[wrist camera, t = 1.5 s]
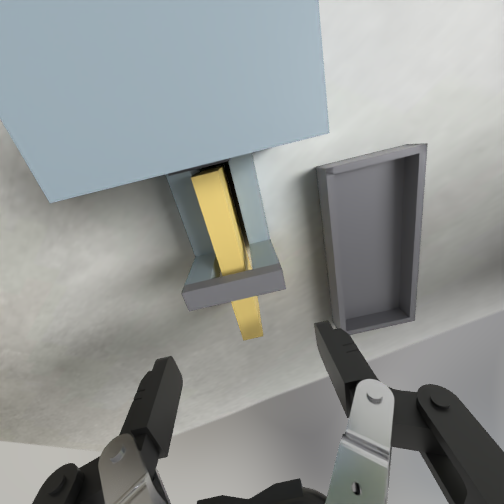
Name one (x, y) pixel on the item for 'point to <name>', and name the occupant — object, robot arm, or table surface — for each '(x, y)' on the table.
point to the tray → (373, 235)
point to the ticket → (227, 240)
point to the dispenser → (164, 105)
